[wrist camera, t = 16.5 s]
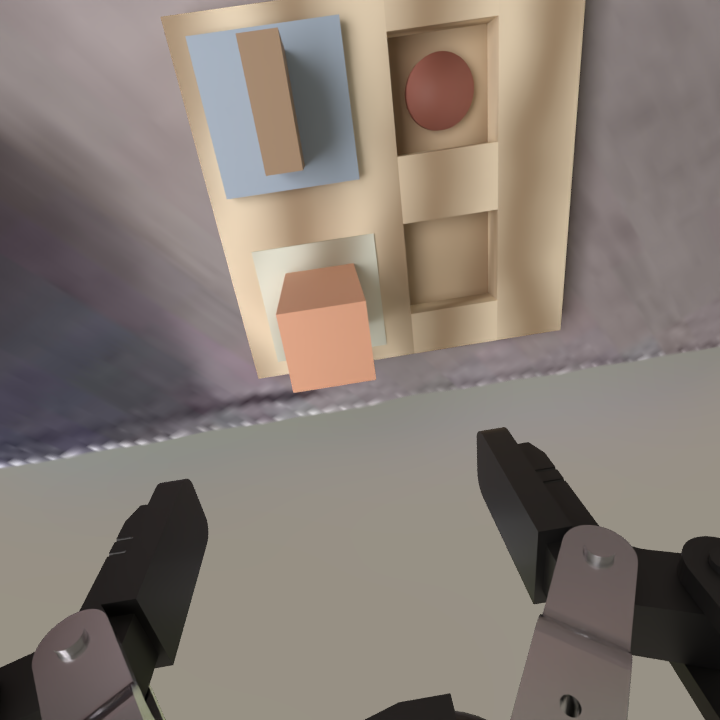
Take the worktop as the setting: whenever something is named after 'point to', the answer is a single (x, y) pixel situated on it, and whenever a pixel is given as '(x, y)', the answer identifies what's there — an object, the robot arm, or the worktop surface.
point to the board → (418, 171)
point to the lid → (277, 105)
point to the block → (325, 328)
